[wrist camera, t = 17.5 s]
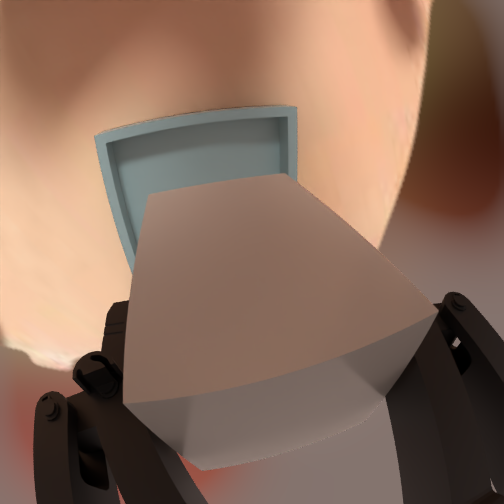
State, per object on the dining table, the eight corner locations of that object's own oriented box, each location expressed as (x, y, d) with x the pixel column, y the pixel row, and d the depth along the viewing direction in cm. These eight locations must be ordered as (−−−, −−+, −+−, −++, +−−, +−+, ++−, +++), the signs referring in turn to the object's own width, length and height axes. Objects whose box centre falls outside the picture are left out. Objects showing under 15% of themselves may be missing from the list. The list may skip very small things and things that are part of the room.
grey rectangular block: (148, 194, 11) (123, 403, 3) (284, 173, 12) (438, 310, 4) (176, 300, 14) (201, 470, 7) (284, 278, 15) (364, 421, 8)
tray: (153, 308, 29) (153, 324, 27) (102, 131, 18) (94, 136, 16) (284, 281, 32) (292, 295, 30) (284, 105, 21) (296, 106, 19)
